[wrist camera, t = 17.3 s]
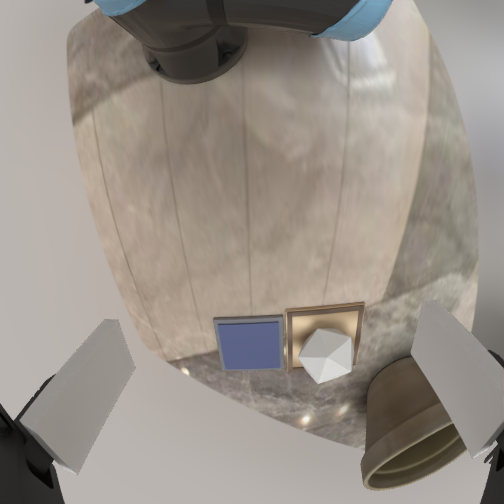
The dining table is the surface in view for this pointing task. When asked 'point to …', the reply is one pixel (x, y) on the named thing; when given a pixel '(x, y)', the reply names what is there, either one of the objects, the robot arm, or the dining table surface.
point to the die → (327, 354)
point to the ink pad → (250, 342)
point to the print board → (321, 327)
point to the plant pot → (406, 429)
